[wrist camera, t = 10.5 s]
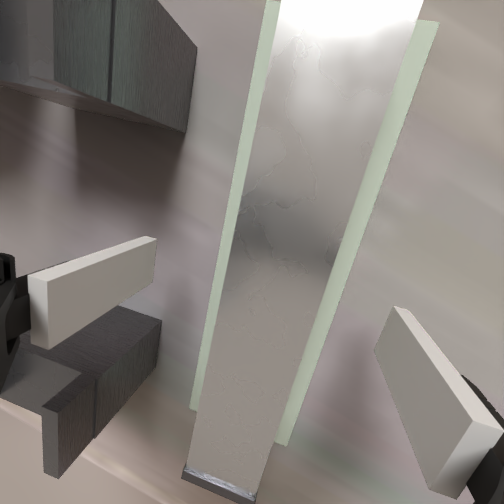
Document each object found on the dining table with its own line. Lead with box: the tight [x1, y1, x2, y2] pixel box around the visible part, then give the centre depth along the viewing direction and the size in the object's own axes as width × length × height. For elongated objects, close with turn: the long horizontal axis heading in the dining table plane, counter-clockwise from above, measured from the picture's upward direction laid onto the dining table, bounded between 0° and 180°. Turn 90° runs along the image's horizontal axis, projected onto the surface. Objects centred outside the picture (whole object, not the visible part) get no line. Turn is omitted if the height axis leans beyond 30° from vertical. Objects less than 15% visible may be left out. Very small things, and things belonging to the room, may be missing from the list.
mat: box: [189, 0, 440, 447], centre depth 18 cm, size 9×30×1 cm, turn 167°
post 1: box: [0, 0, 197, 133], centre depth 13 cm, size 9×5×10 cm, turn 77°
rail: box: [181, 0, 423, 504], centre depth 16 cm, size 30×5×5 cm, turn 167°
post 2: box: [0, 305, 162, 479], centre depth 19 cm, size 9×5×10 cm, turn 77°
